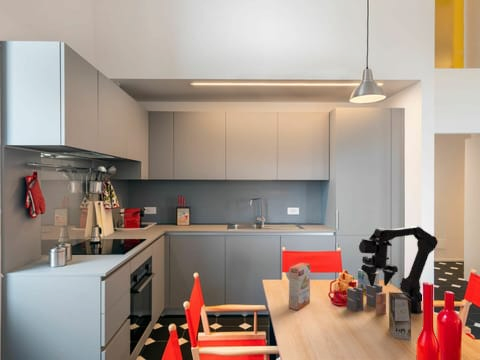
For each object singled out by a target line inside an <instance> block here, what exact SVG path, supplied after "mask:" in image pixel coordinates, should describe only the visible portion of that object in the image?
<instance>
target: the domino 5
mask: <svg viewBox="0 0 480 360" xmlns="http://www.w3.org/2000/svg"><path fill="white" fill-rule="evenodd" d="M386 314H387V292H385V291H384V292H383V291H382V292H381V293H376V307H375V315H377V316H383V315H386Z"/></svg>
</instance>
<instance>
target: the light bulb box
mask: <svg viewBox="0 0 480 360" xmlns="http://www.w3.org/2000/svg"><path fill="white" fill-rule="evenodd" d="M374 283H375V284H378V285H380V284H379V283H380V273H379V272H378V271H376V278H375V281H374ZM368 284H369V285H370V282H369V279H368V276H367V274H366V273H365V272H363V270H361V268H359V269H357V287H358V288H361V289H363V290H366V285H368Z"/></svg>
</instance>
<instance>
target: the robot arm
mask: <svg viewBox="0 0 480 360" xmlns="http://www.w3.org/2000/svg"><path fill="white" fill-rule="evenodd" d="M407 236H413V237H414V238H415V239H416V241H417V243H416V244H417V245H416V246H417V253H416V254H415V257H414V260H413V263H412V266H411V267H410V268H411V269H410V271H409V273H408V276H406V278H405V277H402V278H401V282H400V283H399V285H400V288H399V289H400V291H401V293H404V294H405V295H406V296H407V297H408V298H409V299H410V300H411V314H415V315H416V314H421V313H423V312H422V310H423V309H422V302H423V301H422V295H423V294H422V292H421V283H420V282H421V281H420V279H421V277H422V274H423V271H424V269H425V265H426V263H427V261H428V258H429V255H430V254H431V253H432V252H433V251H434V250H435V249H436V247H437V245H438V244H439V243H438V239H437V237H436V236H434V235H432V234H430V233H429V232H427V231H425V230H424V229H423V228H422V227H420V226H418V225H417V226H416V225H411V226H406V227H396V228H386V227H385V228H383V227H378V228H375V230H374V232H373V233H372V235H371V236H370V237H369V238H368V239H365V238H362V239H361V241H360V243H359V245H358V249H359V252H360V253H361V254H370V255H371V254H372V255H371V257H368V256H367V255H366V256H362V259H361V261H362V263H363V264H362V265H361V267H360V269H361V270H363V272H365V273H366V274H367V276H368V279H369V282H370V286H372V287H373V284H374V281H375V278H376V272H378V271H382V272H383V285H384V287H385V286H388V284H389V282H390V281H391V279H393V277H394V275H396V273H399V271H398V270H399V269H398V266H397V265H393V264H391V263H388V262H387V261H388V260H389V259H390V257H388V247H392V246H393V244H392V243H391V241H392V240H394V239H395V238H400V237H407Z"/></svg>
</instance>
